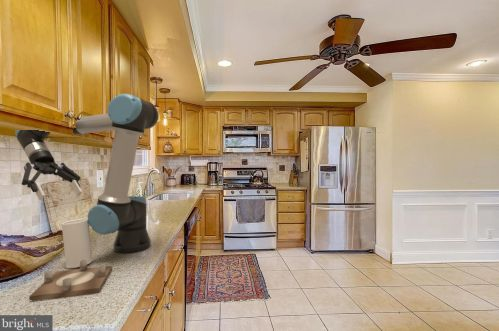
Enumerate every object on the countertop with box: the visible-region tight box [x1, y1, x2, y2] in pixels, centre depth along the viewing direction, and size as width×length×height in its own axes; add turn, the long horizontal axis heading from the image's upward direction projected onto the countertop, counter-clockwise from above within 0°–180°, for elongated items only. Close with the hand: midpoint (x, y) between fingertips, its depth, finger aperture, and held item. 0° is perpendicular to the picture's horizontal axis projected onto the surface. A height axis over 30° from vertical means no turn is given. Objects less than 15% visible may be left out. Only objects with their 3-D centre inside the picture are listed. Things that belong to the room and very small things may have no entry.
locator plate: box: [28, 260, 113, 301], centre depth 82 cm, size 17×17×4 cm
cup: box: [61, 218, 93, 269], centre depth 97 cm, size 8×8×16 cm
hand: (62, 195), depth 101 cm, fingers open, 13 cm apart
